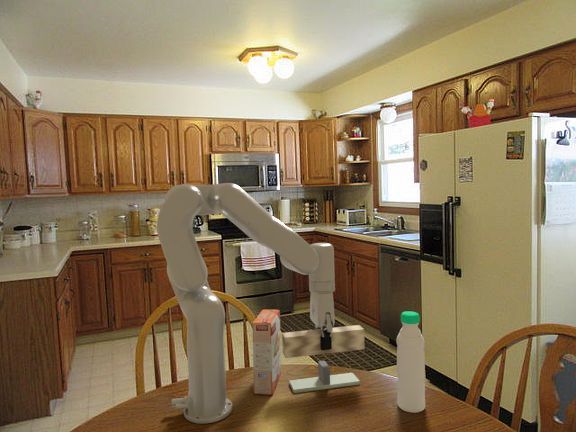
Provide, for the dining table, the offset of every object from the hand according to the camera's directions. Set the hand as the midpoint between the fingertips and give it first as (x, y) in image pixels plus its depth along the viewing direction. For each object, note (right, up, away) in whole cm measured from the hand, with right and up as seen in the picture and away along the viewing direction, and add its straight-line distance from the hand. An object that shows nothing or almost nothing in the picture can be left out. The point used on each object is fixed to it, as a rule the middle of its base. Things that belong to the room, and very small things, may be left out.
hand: (323, 346), depth 122 cm
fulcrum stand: (0, -12, +1) cm, 11 cm away
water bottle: (+22, -12, -14) cm, 28 cm away
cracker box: (-16, -12, +2) cm, 20 cm away
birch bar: (0, -2, 0) cm, 1 cm away
